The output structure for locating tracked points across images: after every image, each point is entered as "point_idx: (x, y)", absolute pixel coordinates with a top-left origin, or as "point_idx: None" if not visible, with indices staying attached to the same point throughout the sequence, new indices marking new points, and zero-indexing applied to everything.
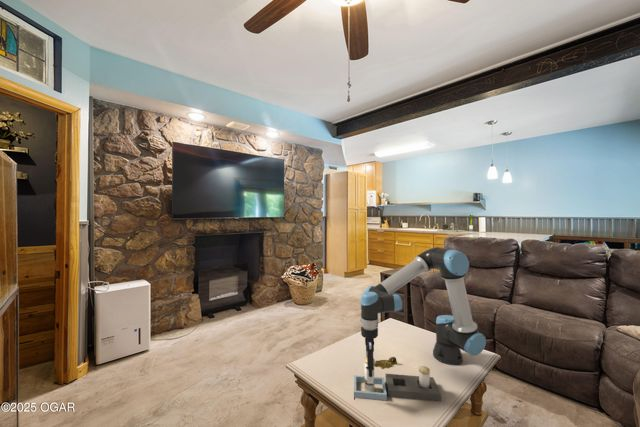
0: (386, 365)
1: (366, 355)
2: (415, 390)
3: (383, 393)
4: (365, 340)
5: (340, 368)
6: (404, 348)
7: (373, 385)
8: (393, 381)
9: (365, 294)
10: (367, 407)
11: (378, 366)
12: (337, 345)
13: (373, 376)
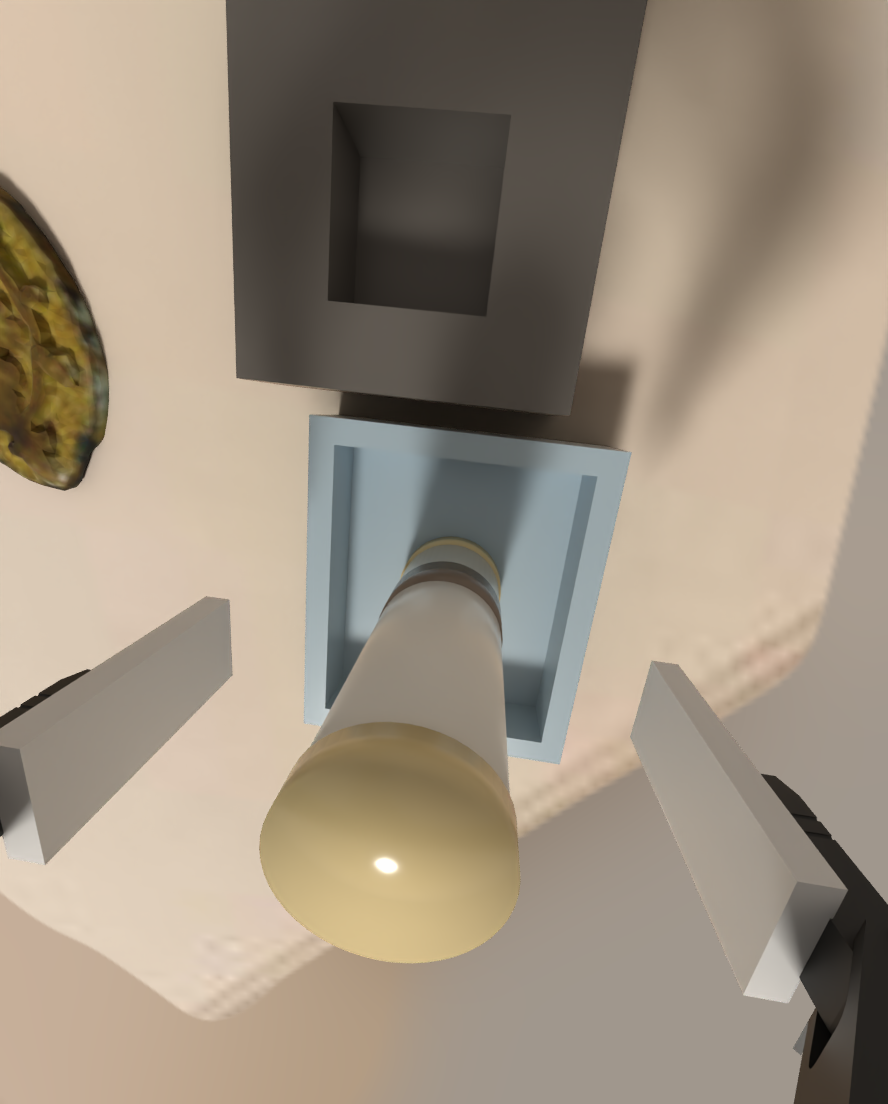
0: (3, 309)
1: (117, 784)
2: None
3: (603, 485)
4: None
5: (155, 758)
6: None
7: (484, 577)
8: (341, 295)
9: None
10: (651, 629)
11: (45, 415)
12: None
13: (731, 739)
